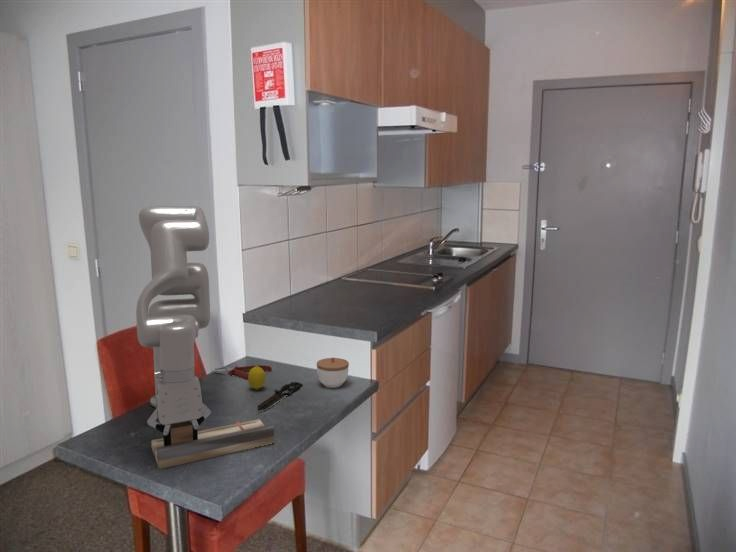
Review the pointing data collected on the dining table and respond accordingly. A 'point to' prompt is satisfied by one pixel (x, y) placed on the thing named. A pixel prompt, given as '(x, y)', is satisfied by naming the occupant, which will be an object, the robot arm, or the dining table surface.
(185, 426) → the brown block with peg
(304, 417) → the dining table surface
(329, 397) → the dining table surface
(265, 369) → the pliers
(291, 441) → the dining table surface
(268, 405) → the knife
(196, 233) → the robot arm
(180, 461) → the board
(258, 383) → the lemon
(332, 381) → the lidded jar
